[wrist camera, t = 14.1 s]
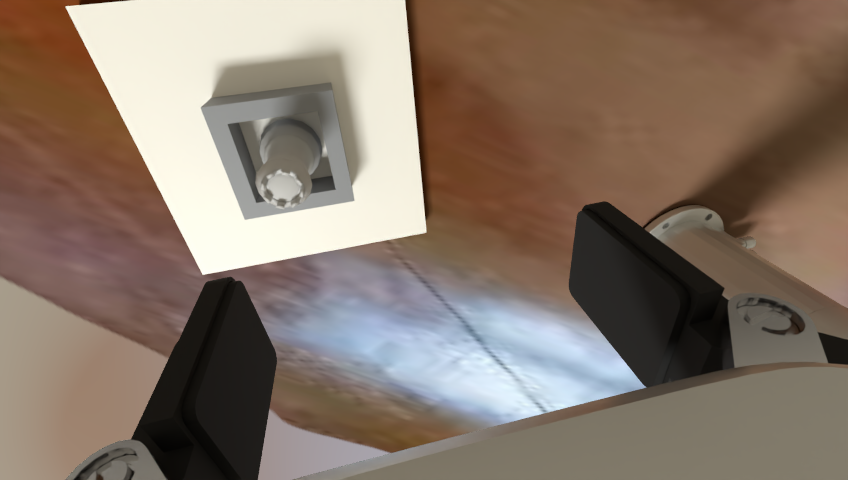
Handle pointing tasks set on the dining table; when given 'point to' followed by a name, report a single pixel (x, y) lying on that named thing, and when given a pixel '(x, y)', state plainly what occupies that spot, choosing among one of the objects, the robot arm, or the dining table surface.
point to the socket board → (266, 116)
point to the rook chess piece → (287, 162)
